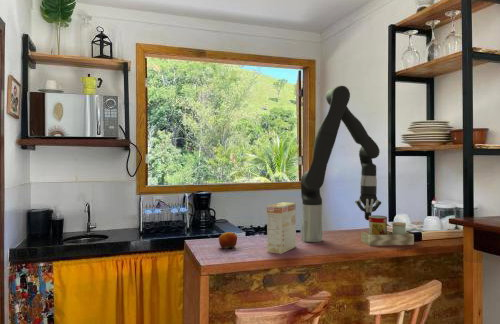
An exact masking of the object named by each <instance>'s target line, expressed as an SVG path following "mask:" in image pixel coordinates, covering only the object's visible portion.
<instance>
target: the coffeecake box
mask: <svg viewBox="0 0 500 324" xmlns="http://www.w3.org/2000/svg"><path fill="white" fill-rule="evenodd" d="M296 211H297V210H296V202H288V201H287V202H286V201H284V202H278V203H273V204H269V205H267V206H266V229H267V230H266V237H267V240H266V241H267V242H266V243H267V245H266V246H267V247H266V248H267V253H269V254H270V253H271V254H273V253H274V254H279V255H282V254H284V253H286V252H288V251H290V250H293V249H294V248H296V247H297V233H296V232H297V226H296V225H297V224H296V222H297V221H296V220H297V219H296V217H297V215H296V214H297V213H296Z"/></svg>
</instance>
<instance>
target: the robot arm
mask: <svg viewBox="0 0 500 324" xmlns="http://www.w3.org/2000/svg"><path fill="white" fill-rule="evenodd" d="M350 98H351V93H350V89H349V88H348V87H347V86H346V85H338V86H335V87H332V88H331V89H329V90H328V91H326V96H325V99H326V102H327V104H328V105H329V109H328V111H327V113H326V116H325V117H324V118H323V120H322V121H321V123H320V126H319V127H318V130H317V132H316V136H315V138H314V142H313V154H312V161H311V163H310V166H309V169H308V170H307V171H305V172H304V173H303V174H302V176H301V178H300V179H301V180H300V189H301V190H300V193H301V194H300V195H301V196H300V197H301V200H302V202H301V203H302V218H301V240H302V241H303V242H307V243H308V242H309V243H320V242H322V241H323V199H322V196H321V188H322V187H323V185H324V182H325V177H326V171H327V167H328V164H329V161H330V157H331V155H332V151H333V148H334V146H335V144H336V143H335V142H336V139H337V137H338V132H339V129H340V127H341V123H343V124H344V126H345V127H346V129H347V130H348V133H349V134H350V135H351V137H352V139H353V141H354V142H355V143H356V144H357V145H360V148H359V151H358V157H359V162H360V166H361V172H360V173H361V174H360V175H361V177H360V196H359V199H357V200H355V202H354V203H355V204H356V205H357V207H358V208H359V210H361V212H363V213H364V219H365V221H369V216H372V213H374V212H376V211H377V209H378V208H379V207H380V206H381V205H382V201H380V200H379V199H378V197H377V192H378V191H377V189H378V188H377V185H378V182H377V181H378V180H377V165H376V164H375V163H373V162H374V161H373V159H377V158H379V155H380V153H381V151H380V148H379V146H378V144H377V142H376V141H374V140H373V138H372V137H371V136H370V135H369V134H368V132H367V130H366V129H365V126H364V125H363V124H362V122H361V120H359V119H358V118H357V117H356V116H355V115H354V114H353V112H351V111H350V109H349V107H348V104H349V102H350Z"/></svg>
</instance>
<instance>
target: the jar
mask: <svg viewBox="0 0 500 324" xmlns="http://www.w3.org/2000/svg"><path fill="white" fill-rule="evenodd" d="M406 225H407V224H406V222H403V221H394V222H393V221H392V233H393V234H396V235H406V232H407V230H406V229H407V228H406Z"/></svg>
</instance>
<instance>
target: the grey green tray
mask: <svg viewBox="0 0 500 324" xmlns="http://www.w3.org/2000/svg"><path fill="white" fill-rule="evenodd" d="M361 242H362V243H364V244H366V245H368V246H373V247H374V246H412V245H415V236H414V234H413V233H410V232H407V231H406V235H396V234H393V232H391V231H389V230H387V235H369V233H367V232H365V231H361Z"/></svg>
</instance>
